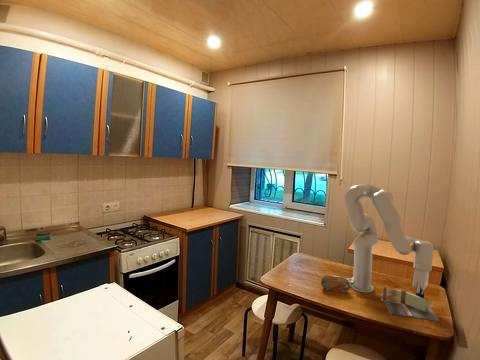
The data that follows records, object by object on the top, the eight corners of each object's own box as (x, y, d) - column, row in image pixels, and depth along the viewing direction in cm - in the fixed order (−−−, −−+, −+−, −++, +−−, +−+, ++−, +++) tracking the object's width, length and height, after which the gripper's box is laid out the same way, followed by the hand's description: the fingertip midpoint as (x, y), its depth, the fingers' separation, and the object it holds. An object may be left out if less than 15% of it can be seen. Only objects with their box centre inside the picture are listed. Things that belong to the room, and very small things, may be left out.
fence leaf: (404, 303, 137) (405, 292, 137) (406, 302, 138) (407, 291, 138) (427, 313, 129) (428, 300, 129) (428, 312, 130) (429, 299, 130)
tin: (321, 289, 153) (321, 274, 152) (321, 286, 156) (322, 272, 155) (349, 294, 148) (350, 279, 147) (349, 291, 151) (350, 277, 150)
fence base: (386, 313, 130) (387, 299, 130) (378, 293, 148) (379, 281, 148) (439, 321, 124) (441, 307, 123) (424, 300, 142) (425, 287, 142)
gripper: (417, 259, 141) (414, 292, 143) (409, 267, 131) (406, 303, 133) (434, 264, 136) (431, 298, 138) (428, 272, 125) (424, 309, 127)
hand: (419, 300), depth 135 cm, fingers closed
